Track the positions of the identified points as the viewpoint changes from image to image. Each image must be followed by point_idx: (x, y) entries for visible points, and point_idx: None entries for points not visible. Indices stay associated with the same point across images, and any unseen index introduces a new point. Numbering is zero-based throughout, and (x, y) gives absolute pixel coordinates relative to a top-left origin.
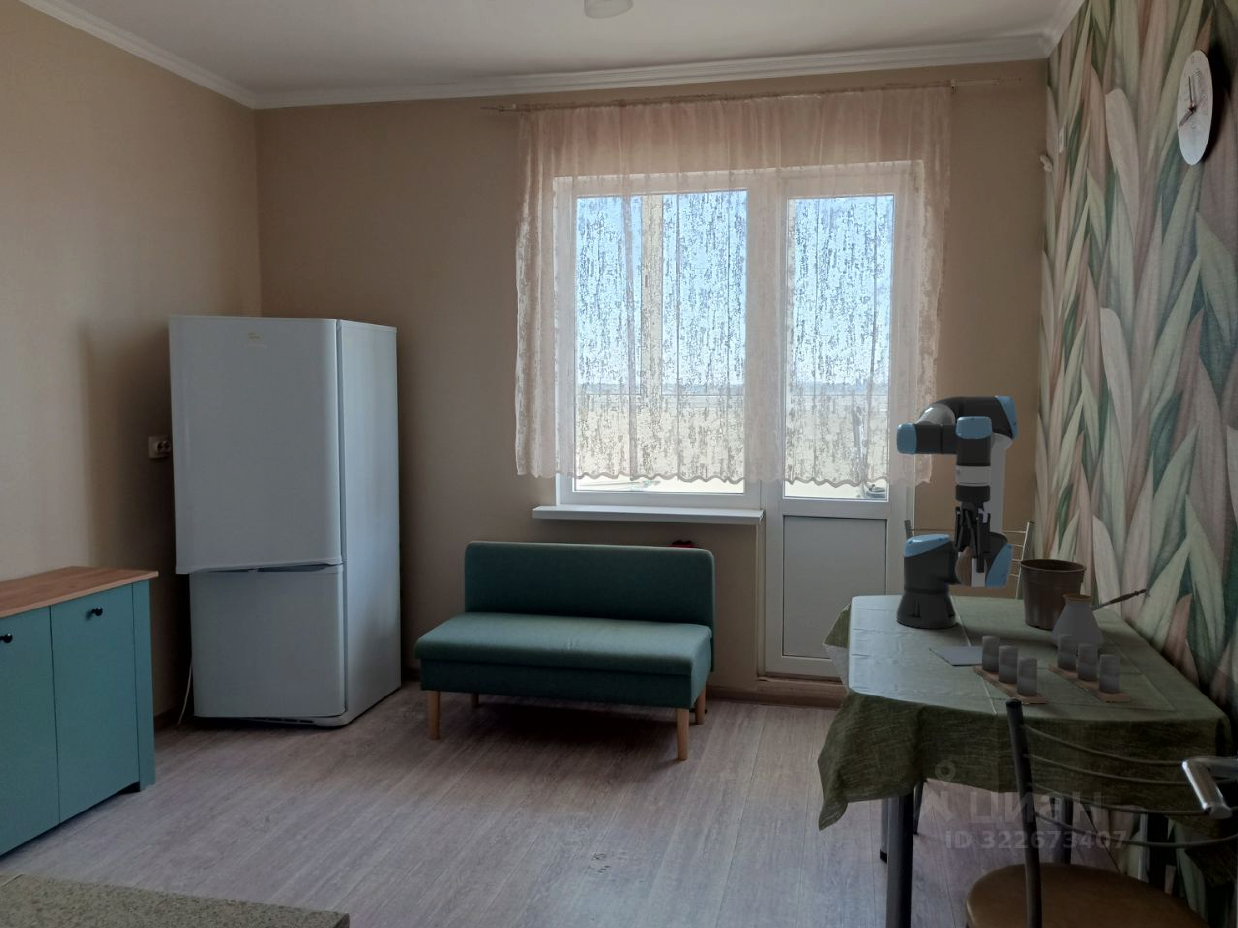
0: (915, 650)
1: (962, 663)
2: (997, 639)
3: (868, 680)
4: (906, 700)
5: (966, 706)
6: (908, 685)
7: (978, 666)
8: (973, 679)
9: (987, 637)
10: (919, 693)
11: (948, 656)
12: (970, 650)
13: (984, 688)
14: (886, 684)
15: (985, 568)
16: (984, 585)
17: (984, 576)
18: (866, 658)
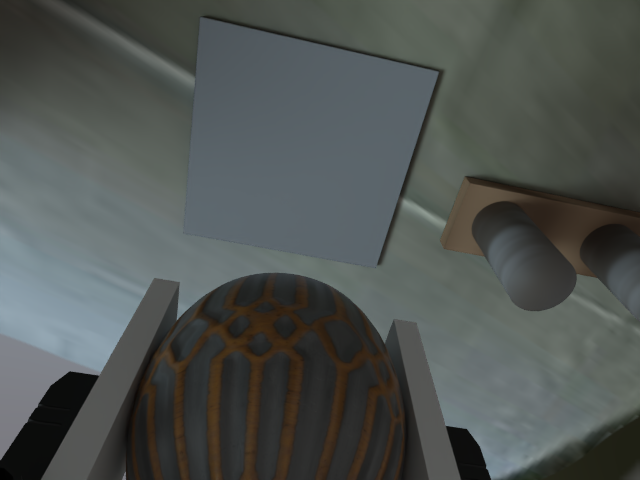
0: (196, 274)
1: (380, 238)
2: (572, 278)
3: None
4: (538, 459)
5: (636, 392)
6: (464, 420)
7: (457, 239)
8: None
9: (531, 293)
10: (518, 425)
11: (300, 235)
12: (252, 124)
13: (572, 298)
14: None
15: (393, 390)
16: (416, 329)
17: (431, 380)
18: None
